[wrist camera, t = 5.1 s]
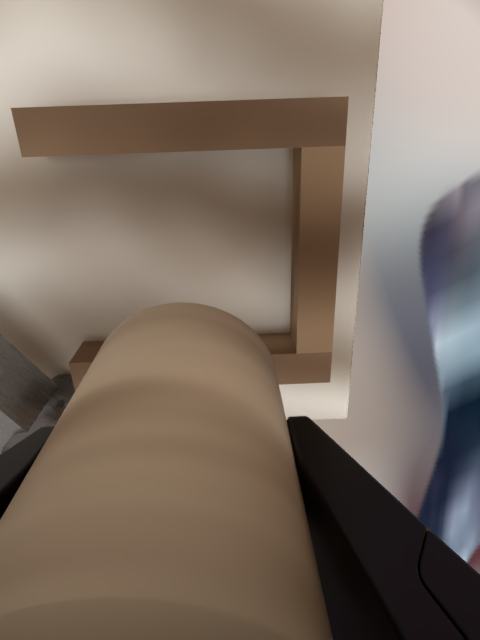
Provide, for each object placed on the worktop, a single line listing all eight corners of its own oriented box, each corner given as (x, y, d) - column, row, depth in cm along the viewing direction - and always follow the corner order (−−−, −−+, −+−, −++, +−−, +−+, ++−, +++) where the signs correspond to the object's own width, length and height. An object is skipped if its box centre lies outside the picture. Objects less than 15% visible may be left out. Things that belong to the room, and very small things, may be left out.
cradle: (341, 406, 23) (358, 444, 20) (20, 420, 22) (-8, 461, 20) (387, -163, 14) (428, -238, 11) (-150, -150, 13) (-247, -222, 11)
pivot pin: (276, 455, 11) (334, 821, 5) (108, 461, 11) (-27, 841, 5) (277, 298, 9) (369, 584, 3) (78, 305, 9) (-183, 610, 3)
